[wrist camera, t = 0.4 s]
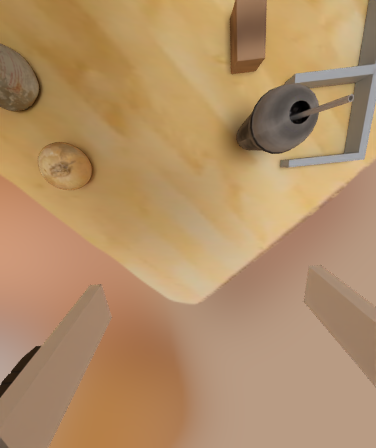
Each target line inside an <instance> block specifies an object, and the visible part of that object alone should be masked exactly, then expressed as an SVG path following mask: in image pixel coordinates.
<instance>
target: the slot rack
mask: <svg viewBox="0 0 376 448" xmlns="http://www.w3.org/2000/svg"><path fill="white" fill-rule="evenodd" d="M348 83H355V90H354V99H353V102H352V108H351V114H350V120H349V126H348V133H347V139H346V145H345V151H344V154H337V155H328V156H318V157H309V158H299V159H290V160H281V163H280V167H296V166H306V165H315V164H325V163H334V162H344V161H353V160H363V159H365V153H366V148H367V143H368V138H369V133H370V128H371V123H372V118H373V113H374V108H375V103H376V0H369V4H368V10H367V16H366V22H365V28H364V34H363V40H362V47H361V53H360V59H359V65H358V66H356V67H348V68H340V69H331V70H323V71H315V72H306V73H298V74H295V75H294V76H292V77H291V78H290V79H289V80H288V81H286V82H285V84H301V85H304V86H306V87H308V88H314V87H323V86H331V85H340V84H348Z"/></svg>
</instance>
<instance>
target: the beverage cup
mask: <svg viewBox="0 0 376 448" xmlns="http://www.w3.org/2000/svg"><path fill="white" fill-rule="evenodd" d="M353 99H354V95H353V94H351V95H348V96H345V97H343V98H340V99H337V100H334V101H332V102H329V103H326V104H323V105H320V106H319V104H318V100H317V98H316V96H315V94H314V93H313V92H312V91H311V90H310V89H309V88H308V87H306V86H304V85H301V84H285V85H282V86H279V87H277V88H274V89H272V90H269V91H268V92H267V93H266V94H265V95H263V96H262V97H261V98H260V100H259V101H258V102H257V104H256V105H255V107H254V110H253V112H252V114H251V115H250V116H249V117H248V118H247V119H246V121H245V122H244V123H243V124H242V126H241V127H240V129H239V130H238V133H237V142H238V144H239V146H240V147H242V148H243V149H246V150H263V151H265V152H268V153H271V154H279V153H283V152H286V151H289V150H291V149H292V148H294V147H296V146H297V145H299V144H300V143H302V142H303V141H304V140H305V139H306V138H307V137H308V136H309V134H310V133H311V132H312V130H313V128H314V126H315V124H316V122H317V120H318V114H319V112H321V111H324V110H327V109H330V108H333V107H336V106H339V105H342V104H345V103H348V102H351V101H353Z"/></svg>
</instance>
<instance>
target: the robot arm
mask: <svg viewBox="0 0 376 448" xmlns="http://www.w3.org/2000/svg"><path fill="white" fill-rule="evenodd" d="M304 297H305V298H304V303H305V304H306V305H307V306H308V307H309V308H310V310H311V311H312V312H313V313H314V314H315V316H316V317H317V318H318V319H319V320H320V322H321V323H322V324H323V325H324V326H325V327H326V329H327V330H328V331H329V332H330V333H331V335H332V336H333V337H334V338H335V339H336V340H337V342H338V343H339V344H340V345H341V346H342V348H343V349H344V350H345V351H346V352H347V353H348V355H349V356H350V357H351V358H352V360H353V361H354V362H355V363H356V364H357V365H358V367H359V368H360V369H361V370H362V371H363V373H364V374H365V375H366V376H367V377H368V379H369V380H370V381H371V382H372V383H373V384H374V386H375V387H376V306H374V305H373V304H372V303H370V302H369V301H368V300H366V299H365V298H364V297H363V296H361V295H360V294H359V293H357V292H356V291H355V290H353V289H352V288H351V287H349V286H348V285H347V284H345V283H344V282H343V281H341V280H340V279H339V278H337V277H336V276H335V275H334V274H332V273H331V272H329V271H328V270H327V269H326V268H324V267H323V266H322V265H317V266H309V268H308V275H307V283H306V290H305V296H304ZM111 318H112V317H111V313H110V310H109V307H108V304H107V300H106V297H105V294H104V291H103V288H102V285H101V284H100V285H90V286H89V287H88V288H87V290H86V291H85V292H84V293H83V295H82V296H81V297H80V299H79V300H78V301H77V302H76V304H75V305H74V306H73V307H72V308H71V310H70V311H69V313H68V314H67V315H66V316H65V317H64V318H63V320H62V321H61V322H60V324H59V325H58V326H57V327H56V329H55V330H54V331H53V333H52V334H51V335H50V336H49V337H48V339H47V340H46V341H45V342H44V344H43V345H42V346H36V347H35V348H34V349H33V350H31V351H30V352H29V353H28V354H26V355H25V356H24V357H23V358H22V359H21V360H20V361H19V362H18V364H17V365H16V366H15V367H14V368H13V370H12V371H11V373H10V374H8V376H7V377H6V378H5V379H4V380H3V381H2V383H1V385H0V448H48V447H49V445H50V443H51V441H52V439H53V437H54V435H55V433H56V431H57V429H58V426H59V424H60V422H61V420H62V418H63V416H64V414H65V412H66V410H67V408H68V406H69V404H70V402H71V400H72V398H73V396H74V394H75V392H76V390H77V388H78V386H79V383H80V381H81V379H82V377H83V375H84V373H85V371H86V369H87V367H88V365H89V363H90V361H91V359H92V357H93V355H94V353H95V351H96V348H97V346H98V345H99V343H100V340H101V338H102V336H103V334H104V332H105V330H106V328H107V326H108V324H109V322H110V320H111Z"/></svg>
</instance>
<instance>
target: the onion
mask: <svg viewBox="0 0 376 448" xmlns="http://www.w3.org/2000/svg"><path fill="white" fill-rule="evenodd" d="M38 165H39V169H40V172H41V174H42V175H43V177H44V178H45V179H46V180H47V181H48V182H49V183H50V184H52V185H53V186H55V187H57V188H60V189H65V190H75V189H78V188H80V187H82V186H84V185H85V184H87V183H88V181H89V180H90V178H91V174H92V167H91V164H90V161H89V159H88V158H87V156H86V155H85V154H84V153H83V152H82V151H81V150H79V149H78V148H76V147H74V146H72V145H70V144H68V143H64V142H56V143H52V144H49V145H47V146H45V147H44V148H43V149H42V150H41V152H40V153H39V156H38Z"/></svg>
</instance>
